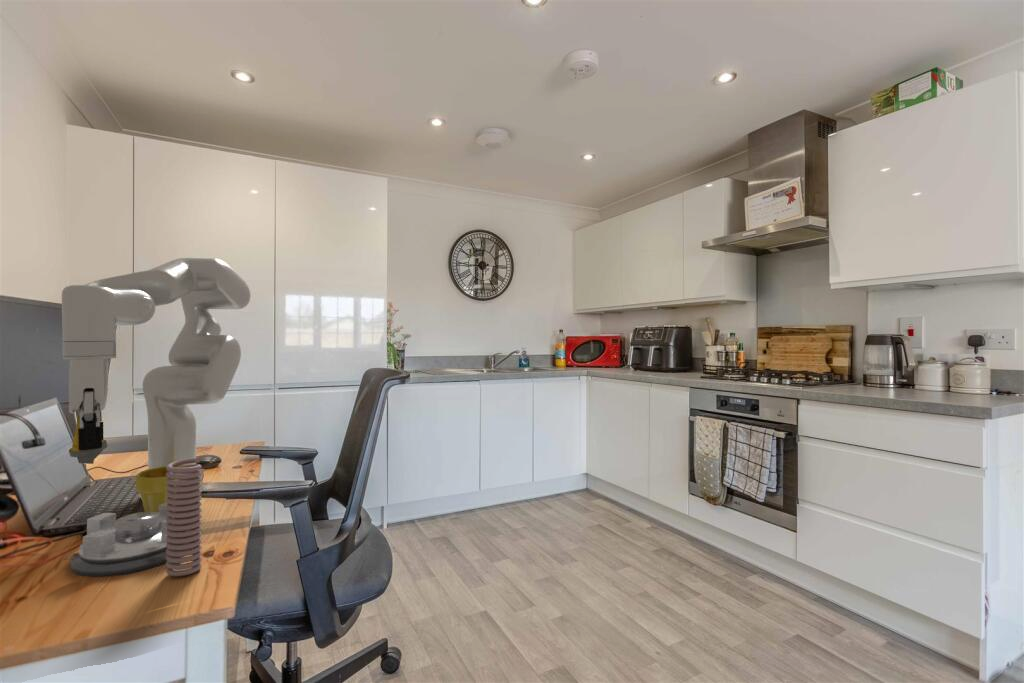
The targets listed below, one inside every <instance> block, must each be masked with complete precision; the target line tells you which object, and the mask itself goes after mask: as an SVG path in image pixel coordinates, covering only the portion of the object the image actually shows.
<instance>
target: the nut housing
mask: <svg viewBox="0 0 1024 683" xmlns="http://www.w3.org/2000/svg"><path fill="white" fill-rule="evenodd" d="M186 544H189V543H186ZM183 545H184V544H183ZM187 550H191V549H187ZM187 550H183V551H187ZM166 556H167V553H166V550H164V551H161V552H158V553H155V554H152V555H149V556H145V557H141V558H137V559H132V560H127V561H121V562H112V563H89V562H84V561H82V560H80V558H79V549H77V550H76V551H75V552H73V553H72V556H71V558H70V562H69V563H70V571H71V572H72V573H73V574H75V575H76V576H77V575H78V576H81V577H90V578H91V577H92V578H96V577H97V578H99V577H101V578H103V577H104V578H106V577H116V576H124V575H129V574H134V573H138V572H142V571H145V570H149V569H153V568H155V567H159V566H161V565H166V562H167V560H166Z"/></svg>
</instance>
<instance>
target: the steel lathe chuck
mask: <svg viewBox="0 0 1024 683" xmlns="http://www.w3.org/2000/svg"><path fill="white" fill-rule="evenodd" d="M166 505H167V502H166V503H164V504H161V505H159V506H158V512H155V511H147V512H145V511H140V512H139V511H138V512H134V513H131V514H128V515H124V516H121V517H119V518H118V519H117V513H114V512H102V513H99V514H97V515H95V516H93V517H89V518H87V519H86V535H84V536H82V543H80V545H79V547H78V550H79V558H80V560H82V561H84V562H89V563H112V562H121V561H127V560H132V559H137V558H141V557H145V556H149V555H152V554H155V553H158V552H161V551H164V550H166V549H167V547H166V543H167V540H166V536H167V534H166V530H167V528H166V524H167V521H166V517H167V515H166V511H167V510H168V509H167V508H166ZM173 506H174V505H173ZM173 512H175V511H173ZM172 525H173V524H172ZM190 531H191V530H190ZM186 538H188V537H186ZM172 544H173V543H172Z"/></svg>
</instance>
